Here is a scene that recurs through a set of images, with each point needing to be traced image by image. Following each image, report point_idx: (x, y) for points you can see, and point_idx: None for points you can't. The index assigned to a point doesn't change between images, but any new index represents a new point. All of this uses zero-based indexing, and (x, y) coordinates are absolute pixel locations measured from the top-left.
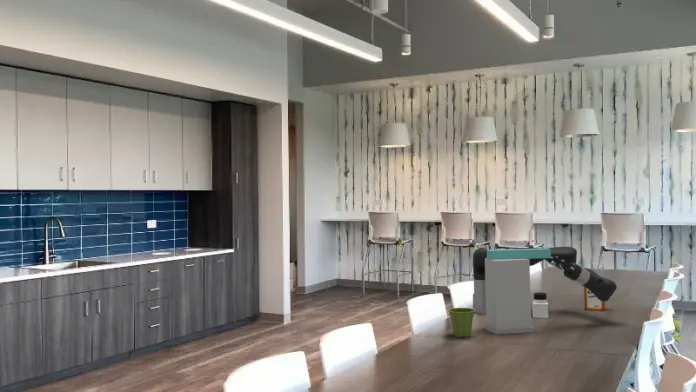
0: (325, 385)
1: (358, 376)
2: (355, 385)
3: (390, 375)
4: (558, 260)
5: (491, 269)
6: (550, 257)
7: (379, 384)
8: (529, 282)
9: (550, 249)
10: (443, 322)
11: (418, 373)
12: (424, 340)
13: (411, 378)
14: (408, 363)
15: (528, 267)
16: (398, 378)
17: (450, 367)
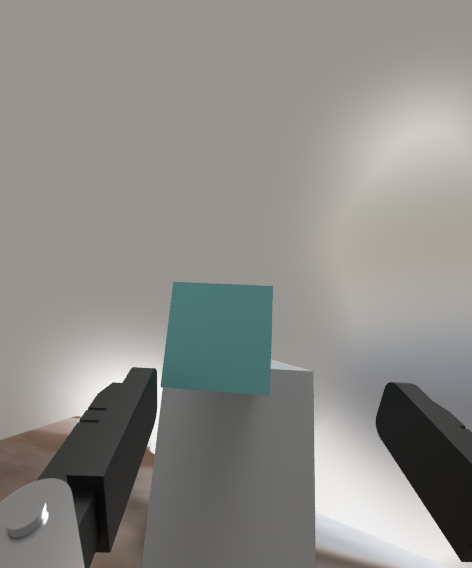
0: (71, 418)
1: (72, 428)
2: (50, 425)
3: (49, 438)
4: (73, 451)
5: None
6: (163, 379)
7: (33, 431)
8: (148, 511)
9: (174, 286)
10: (355, 555)
11: (26, 451)
12: None
13: (18, 445)
14: None
15: (162, 409)
16: (32, 440)
17: (5, 473)
